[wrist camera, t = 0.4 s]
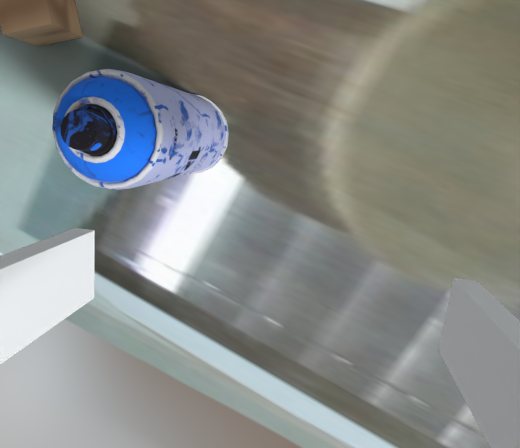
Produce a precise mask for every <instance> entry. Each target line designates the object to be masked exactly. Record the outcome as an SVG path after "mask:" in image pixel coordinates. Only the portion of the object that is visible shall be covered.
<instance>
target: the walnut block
mask: <svg viewBox="0 0 520 448" xmlns="http://www.w3.org/2000/svg"><path fill="white" fill-rule="evenodd" d="M0 26H1V30H2V35H5V36H8V37H11V38H14V39H17V40H20V41H23V42H26V43H29V44H32V45H35V46H38V47H39V46H43V45H48V44H53V43H57V42H62V41H67V40H72V39H76V38H81V37H83V36H82V31H81V26H80V22H79V17H78V12H77V7H76V3H75V0H0Z"/></svg>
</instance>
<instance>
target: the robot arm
mask: <svg viewBox="0 0 520 448" xmlns="http://www.w3.org/2000/svg"><path fill="white" fill-rule="evenodd" d="M93 298H94V230H87V229H80V228H74V229H72V230H69V231H66V232H64V233H61V234H58V235H56V236H53V237H50V238H48V239H45V240H42V241H39V242H37V243H34V244H31V245H29V246H26V247H23V248H21V249H18V250H15V251H13V252H10V253H7V254H5V255H2V256H0V364H1V363H3V362H4V361H6V360H7V359H8V358H10V357H11V356H12V355H14V354H15V353H17V352H18V351H20V350H21V349H23V348H24V347H25V346H27V345H28V344H30V343H31V342H33V341H34V340H35V339H37V338H38V337H40V336H41V335H42V334H44V333H45V332H47V331H48V330H49V329H51V328H52V327H53V326H55V325H57V324H58V323H59V322H61V321H62V320H64V319H65V318H66V317H68V316H69V315H71V314H72V313H73V312H75V311H76V310H78V309H79V308H81V307H82V306H83V305H85V304H86V303H88V302H89V301H90V300H92V299H93ZM438 351H439V353H440V355H441V357H442V358H443V360H444V362H445V364H446V366H447V368H448V370H449V371H450V373H451V375H452V377H453V379H454V381H455V383H456V384H457V386H458V388H459V390H460V392H461V394H462V396H463V397H464V399H465V401H466V403H467V405H468V407H469V409H470V410H471V412H472V414H473V416H474V418H475V420H476V422H477V423H478V425H479V427H480V429H481V431H482V433H483V435H484V436H485V438H486V440H487V442H488V444H489V446H490V448H520V321H519V320H518V319H517V318H516V317H515V316H514V315H513V314H512V313H510V312H509V311H508V310H507V309H506V308H505V307H504V306H503V305H502V304H501V303H500V302H499V301H498V300H497V299H496V298H495V297H493V296H492V295H491V294H490V293H489V292H488V291H487V290H486V289H485V288H484V287H483V286H482V285H481V284H480V283H479V282H478V281H473V280H465V279H458V278H453V283H452V288H451V293H450V297H449V302H448V307H447V312H446V317H445V321H444V326H443V331H442V336H441V341H440V346H439V350H438Z"/></svg>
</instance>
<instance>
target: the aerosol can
mask: <svg viewBox="0 0 520 448" xmlns="http://www.w3.org/2000/svg"><path fill="white" fill-rule="evenodd" d="M52 130H53V134H54V139H55V144H56V148H57V150H58V151H59V153H60V155H61V157H62V159H63V161H64V163H65V164H66V165H67V166H68V167H69V168H70V169H71V170H72V172H73V173H74V174H75V175H76V176H77V177H79V178H81V179H83V180H84V181H86V182H88V183H90V184H91V185H93V186H97V187H102V188H107V189H112V190H119V189H128V188H134V187H137V186H141V185H145V184H149V183H153V182H157V181H161V180H165V179H169V178H173V177H177V176H181V175H185V174H188V173H189V174H190V173H199V172H203V171H205V170H207V169H209V168H211V167H213V166H214V165H215V164H216V163H217V162H218V161H219V160H220V159H221V158H222V156H223V154H224V152H225V150H226V148H227V144H228V138H229V132H228V125H227V121H226V119H225V117H224V115H223V113H222V111H221V110H220V109H219V108H218V107H217V106H216V104H215V103H214V102H212V101H211V100H209V99H207V98H205V97H204V96H201V95H196V94H191V93H187V92H184V91H181V90H178V89H175V88H172V87H169V86H166V85H164V84H161V83H158V82H155V81H152V80H149V79H146V78H143V77H140V76H138V75H135V74H132V73H129V72H125V71H119V70H114V69H103V70H97V71H91V72H87V73H85V74H83V75H82V76H80V77H78V78H76V79H75V80H73V81H71V82H70V84H69V85H68V86H67V87H66V88H65V90H64V91H63V92H62V93H61V94H60V96H59V99H58V102H57V104H56V107H55V109H54V114H53V128H52Z"/></svg>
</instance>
